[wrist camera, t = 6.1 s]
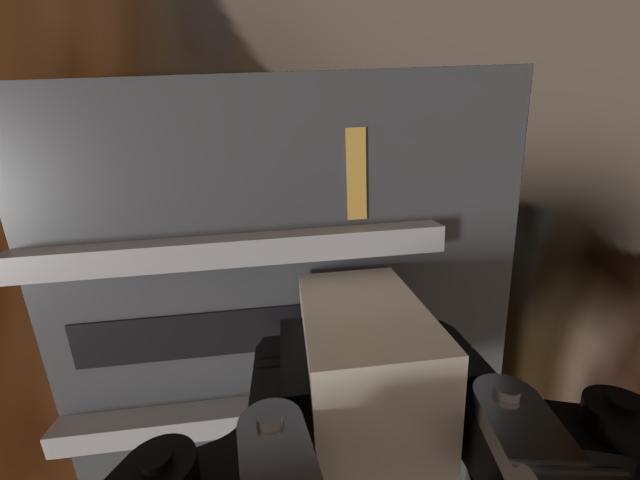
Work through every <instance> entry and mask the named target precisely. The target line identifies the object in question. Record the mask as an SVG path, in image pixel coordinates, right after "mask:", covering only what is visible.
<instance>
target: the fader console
mask: <svg viewBox="0 0 640 480" xmlns="http://www.w3.org/2000/svg"><path fill="white" fill-rule="evenodd" d="M532 73H533V64H505V65H474V66H443V67H413V68H381V69H349V70H319V71H290V72H288V71H287V72H255V73H224V74H193V75H162V76H131V77H99V78H68V79H37V80H6V81H0V218H1V222H2V225H3V229H4V232H5V235H6V239H7V242H8V245H9V250H6V251H4V252H1V253H0V287H1V286H14V285H20V286H21V289H22V293H23V296H24V299H25V303H26V306H27V309H28V313H29V316H30V320H31V323H32V326H33V330H34V333H35V336H36V340H37V343H38V347H39V350H40V353H41V357H42V360H43V363H44V367H45V370H46V374H47V377H48V380H49V384H50V387H51V390H52V394H53V397H54V401H55V404H56V407H57V411H58V414H59V417H58V418H57V420H56V421H55V422H54V423H53V425H52V426H51V427H50V428H49V429H48V431H47V432H46V433H45V434H44V435H43V437H42V438H41V439H40V442H41V445H42V448H43V451H44V455H45V458H46V460H51V459H60V458H68V457H71V458H72V461H73V465H74V468H75V471H76V475H77V478H78V480H104V479H105V478H106V477H107V476H108V475H109V473H110V472H111V471H112V470H113V469H114V468H115V467H116V466H117V465H118V464H119V463H120V462H121V461H122V460H123V459H124V458H125V457H126V456H127V455H128V454H129V453H130V452H131V451H132V450H134V449H135V448H136V447H137V446H139V445H140V444H142V443H144V442H145V441H147V440H149V439H151V438H154V437H157V436H160V435H163V434H170V433H178V434H183V435H186V436H188V437H189V438H191V439H192V440H193V441H194V443H195V445H196V447H198V446H201V445H204V444H206V443H209V442H211V441H214V440H217V439H219V438H221V437H223V436H225V435H227V434H228V433H230V432H231V431H232V430H234V429H235V428H236V425H237V421H238V419H239V417H240V415H241V414H242V412H243V411H244V410H245V409H246V408H248V403H249V395H250V388H251V380H252V373H253V365H254V357H255V350H256V346H257V345H258V344H259V343H260V341H261V340H262V339H263V338H264V337H267V336H277V335H280V319H286V318H297V317H301V304H300V289H299V275H302V274H314V273H327V272H339V271H351V270H363V269H376V268H388V267H391V268H392V269H393V271H394V272H395V273H396V274H397V275H398V276H399V277H400V278H401V280H402V281H403V282H404V283H405V284H406V285H407V286H408V288H409V289H410V290H411V291H412V292H413V293H414V294H415V295H416V297H417V298H418V299H419V300H420V301H421V302H422V303H423V305H424V306H425V307H426V308H427V309H428V310H429V311H430V313H431V314H432V315H433V316H434V317H435V318H436V319H437V320H441V321H443V322H445V323H447V324H449V325H451V326H452V327H454V328H455V329H456V330H457V331H458V332H459V333H460V334H461V335H462V336H463V337H464V339H466V340H467V341H468V343H469V344H470V345H471V347H472V348H474V349H475V350H476V351H477V352H478V353H479V354H480V355H481V356H482V357H483V358H484V360H485V361H486V362H487V363H488V364H489V365H490V366H491V367H492V368H493V369H494V370H495V371H496V372H497V373H498V374H501V371H502V362H503V352H504V343H505V333H506V323H507V314H508V304H509V294H510V285H511V275H512V266H513V256H514V246H515V237H516V227H517V217H518V208H519V198H520V188H521V178H522V169H523V159H524V150H525V140H526V131H527V121H528V112H529V111H528V110H529V102H530V92H531V83H532ZM465 476H466V466H465V465H464V463H463V461H462V460H461V469H460V480H465Z"/></svg>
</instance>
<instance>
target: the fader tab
mask: <svg viewBox="0 0 640 480" xmlns="http://www.w3.org/2000/svg"><path fill="white" fill-rule="evenodd" d="M299 289H300V304H301V317H302V320H303V329H304V338H305V347H306V356H307V365H308V374H309V383H310V392H311V405H312V421H313V436H314V451H315V454H316V457H317V460H318V463H319V466H320V470H321V473H322V476H323V479H324V480H460V469H461V456H462V442H463V429H464V415H465V402H466V388H467V375H468V362H469V356H468V355H467V353H466V352H465V351H464V350H463V349H462V348H461V347H460V345H459V344H458V343H457V342H456V341H455V340H454V339H453V337H452V336H451V335H450V334H449V333H448V332H447V331H446V330H445V328H444V327H443V326H442V325H441V324H440V323H439V322H438V320H437V319H436V318H435V317H434V316H433V315H432V314H431V313H430V311H429V310H428V309H427V308H426V307H425V306H424V305H423V303H422V302H421V301H420V300H419V299H418V298H417V297H416V295H415V294H414V293H413V292H412V291H411V290H410V289H409V288H408V286H407V285H406V284H405V283H404V282H403V281H402V280H401V278H400V277H399V276H398V275H397V274H396V273H395V272H394V271H393V269H392V268H391V267H388V268H376V269H363V270H351V271H339V272H327V273H314V274H302V275H299Z"/></svg>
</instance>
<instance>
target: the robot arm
mask: <svg viewBox="0 0 640 480" xmlns="http://www.w3.org/2000/svg"><path fill="white" fill-rule="evenodd" d="M438 322H439V323H440V324H441V325H442V326H443V327H444V328H445V330H446V331H447V332H448V333H449V334H450V335H451V336H452V337H453V339H454V340H455V341H456V342H457V343H458V344H459V345H460V347H461V348H462V349H463V350H464V351H465V352H466V353H467V355H468V356H469V362H468V375H467V388H466V402H465V415H464V429H463V442H462V456H461V460H462V461H463V463H464V465H465V466H466V476H465V480H640V395H639V394H637V393H634V392H632V391H629V390H626V389H623V388H620V387H616V386H611V385H591V386H588V387H586V388H585V389H584V390H583V392H582V396H581V402H580V404H578V403H569V402H561V401H553V400H546V399H543V398H542V396H541V395H540V394H539V393H538V391H537V390H536V389H534V388H533V387H532V386H531V385H529V384H528V383H526V382H524V381H522V380H520V379H518V378H515V377H512V376H509V375H505V374H498V373H497V372H496V371H495V370H494V369H493V368H492V367H491V366H490V365H489V364H488V363H487V362H486V361H485V360H484V358H483V357H482V356H481V355H480V354H479V353H478V352H477V351H476V350H475V349H474V348H472V347H471V345H470V344H469V343H468V341H467V340H466V339H464V337H463V336H462V335H461V334H460V333H459V332H458V331H457V330H456V329H455V328H454V327H452V326H451V325H449V324H447V323H445V322H443V321H441V320H438ZM104 480H324V479H323V476H322V473H321V470H320V466H319V463H318V460H317V457H316V454H315V451H314V436H313V421H312V405H311V392H310V383H309V374H308V365H307V356H306V347H305V338H304V329H303V320H302V317H297V318H286V319H280V335H277V336H267V337H264V338H263V339H262V340H261V341H260V343H259V344H258V345H257V346H256V350H255V357H254V365H253V373H252V380H251V388H250V395H249V403H248V408H246V409H245V410H244V411H243V412H242V414H241V415H240V417H239V419H238V421H237V425H236V428H235V429H234V430H232V431H231V432H230V433H228V434H227V435H225V436H223V437H221V438H219V439H217V440H214V441H211V442H209V443H206V444H204V445H201V446H198V447H196V445H195V443H194V441H193V440H192V439H191V438H189V437H188V436H186V435H183V434H178V433H170V434H163V435H160V436H157V437H154V438H151V439H149V440H147V441H145V442H144V443H142V444H140V445H139V446H137V447H136V448H135V449H134V450H132V451H131V452H130V453H129V454H128V455H127V456H126V457H125V458H124V459H123V460H122V461H121V462H120V463H119V464H118V465H117V466H116V467H115V468H114V469H113V470H112V471H111V472H110V473H109V475H108V476H107V477H106V478H105V479H104Z"/></svg>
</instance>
